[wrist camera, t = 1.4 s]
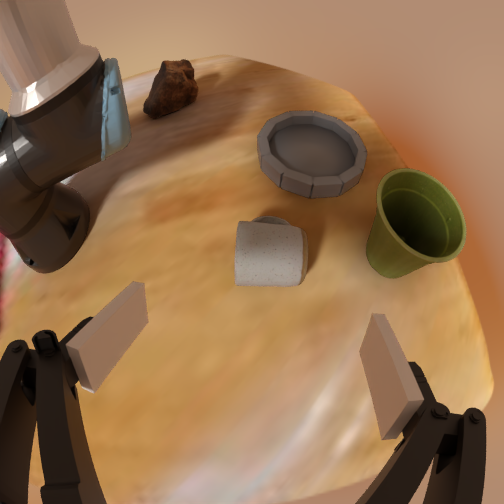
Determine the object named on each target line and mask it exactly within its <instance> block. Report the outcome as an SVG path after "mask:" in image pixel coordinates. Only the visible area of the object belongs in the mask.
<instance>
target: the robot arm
mask: <svg viewBox="0 0 504 504" xmlns="http://www.w3.org/2000/svg"><path fill="white" fill-rule="evenodd" d="M0 71H1V73H2V75H3V77H4V78H5V80H6V82H7V84H8V85H9V87H10V89H11V90H12V96H11V100H10V104H9V109H8V111H9V114H10V117H8V115H7V112H5V111H3V110H2V109H0V232H1V233H2V234H3V235H5V236H6V237H7V238H8V239H10V241H11V243H12V244H13V246H14V248H15V249H16V251H17V252H18V254H19V255H20V257H21V259H22V260H23V261H24V263H25V264H26V265H27V266H29V267H30V268H32V269H33V270H35V271H36V272H39V273H51V272H54V271H56V270H58V269H60V268H61V267H62V266H64V265H65V264H66V263H67V262H68V261H69V260H70V259H71V258H72V257H73V256H74V255H75V253H76V252H77V251H78V249H79V247H80V246H81V244H82V242H83V240H84V238H85V235H86V233H87V229H88V225H89V208H88V205H87V203H86V201H85V200H84V199H83V198H82V196H81V195H80V194H79V193H78V192H77V191H76V190H74V189H72V188H70V187H68V186H66V185H64V184H62V183H61V181H62V180H64V179H66V178H68V177H70V176H72V175H73V174H75V173H77V172H79V171H81V170H83V169H85V168H87V167H89V166H91V165H93V164H95V163H97V162H99V161H104V160H105V159H106V158H107V157H108V156H110V155H112V154H114V153H116V152H118V151H120V150H122V149H124V148H125V147H126V146H127V145H128V143H129V142H130V139H131V128H130V122H129V116H128V111H127V106H126V100H125V95H124V90H123V85H122V80H121V75H120V70H119V66H118V61H117V59H115V58H111V59H109V58H107V59H105V61H104V62H103V60H102V59H101V56H100V53H99V51H98V49H97V48H95V47H92V46H88V45H83V44H81V43H80V42H79V39H78V37H77V34H76V31H75V29H74V26H73V23H72V20H71V18H70V15H69V12H68V9H67V6H66V3H65V0H0ZM147 323H148V315H147V306H146V297H145V286H144V283H140V282H134V281H133V282H132V283H131V284H130V285H129V286H127V287H126V288H125V289H124V290H123V291H122V292H121V293H120V294H119V295H117V296H116V297H115V298H114V299H113V300H112V301H111V302H110V303H109V304H108V305H107V306H105V307H104V308H103V309H102V310H101V311H100V312H99V313H98V314H97V315H96V316H95V317H88V318H86V319H84V320H82V321H81V322H80V323H79V324H78V325H77V327H75V328H74V329H73V330H72V331H71V332H69V333H68V334H67V335H66V336H65V337H64V338H63V339H62V340H61V341H60V342H58V339H57V336H56V333H55V332H53V331H51V330H42V331H39V332H37V333H36V334H35V335H34V336H33V338H32V342H33V344H34V347H35V349H36V350H33V349H29V348H28V345H27V343H26V342H25V341H24V340H15V341H13V342H11V343H10V344H9V345H8V346H7V348H6V350H5V352H4V354H3V356H2V359H1V361H0V504H28V483H29V470H30V460H31V452H32V445H33V438H34V432H35V427H36V421H37V428H38V439H39V448H40V456H41V463H42V469H43V474H44V480H45V485H44V486H42V487H41V490H40V492H41V498H42V502H43V504H107V503H106V500H105V498H104V495H103V492H102V489H101V487H100V484H99V481H98V478H97V475H96V472H95V468H94V465H93V462H92V458H91V454H90V451H89V447H88V443H87V439H86V435H85V430H84V426H83V421H82V416H81V411H80V405H79V399H78V393H77V388H76V386H75V384H76V383H77V381H78V380H79V382H80V384H81V386H82V388H83V389H85V390H88V391H90V392H92V393H95V392H96V391H97V389H98V388H99V386H100V385H101V384H102V382H103V381H104V380H105V378H106V377H107V376H108V374H109V373H110V372H111V370H112V369H113V368H114V366H115V365H116V364H117V362H118V361H119V360H120V358H121V357H122V356H123V354H124V353H125V352H126V350H127V349H128V348H129V346H130V345H131V344H132V343H133V341H134V340H135V339H136V337H137V336H138V335H139V334H140V332H141V331H142V330H143V328H144V327H145V326H146V325H147ZM359 352H360V356H361V359H362V363H363V366H364V370H365V374H366V377H367V381H368V385H369V389H370V393H371V397H372V401H373V405H374V409H375V413H376V417H377V421H378V426H379V430H380V435H381V440H387V439H396V438H397V437H398V436H399V434H400V433H401V432H403V436H404V438H403V439H402V441H401V442H400V443H399V444H398V445H397V447H396V448H395V449H394V450H395V451H394V453H393V454H392V456H391V457H390V459H389V460H388V462H387V463H386V465H385V466H384V468H383V469H382V470H381V472H380V473H379V474H378V476H377V477H376V478H375V480H374V481H373V482H372V484H371V485H370V486H369V488H368V489H367V490H366V491H365V493H364V494H363V495H362V496H361V497H360V499H359V500H358V501H357V502H356V503H355V504H408V503H409V502H410V500H411V498H412V497H413V495H414V493H415V492H416V490H417V488H418V486H419V485H420V483H421V481H422V479H423V478H424V475H425V474H426V472H427V470H428V468H429V466H430V464H431V462H432V460H433V458H434V460H433V465H432V470H431V475H430V479H429V483H428V487H427V491H426V494H425V498H424V501H423V504H481V502H482V496H483V488H484V478H485V464H486V419H485V416H484V414H483V412H481V411H480V410H479V409H477V408H469V409H467V410H466V411H465V413H464V414H463V415H460V414H453V413H450V411H449V409H448V408H447V407H446V406H445V405H443V404H441V403H438V402H436V399H435V397H434V395H433V393H432V390H431V388H430V386H429V384H428V383H427V380H426V377H424V376H425V375H424V373H423V371H422V369H421V368H420V367H419V366H418V365H417V364H416V363H415V362H408V361H407V359H406V357H405V355H404V353H403V351H402V349H401V347H400V344H399V342H398V340H397V338H396V336H395V334H394V332H393V330H392V328H391V326H390V324H389V322H388V320H387V318H386V316H385V315H384V314H374V313H372V316H371V319H370V322H369V325H368V328H367V331H366V334H365V337H364V340H363V343H362V345H361V348H360V351H359Z"/></svg>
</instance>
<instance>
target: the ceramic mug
mask: <svg viewBox="0 0 504 504" xmlns="http://www.w3.org/2000/svg"><path fill="white" fill-rule="evenodd" d="M307 265H308V240H307V235H306V233H305V231H304V230H303V229H302V228H299V227H295V226H291V225H290V223H289V222H287V221H286V220H284V219H282V218H278V217H274V216H262V217H258V218H255V219H254V220H252V221H251V222H248V221H239V223H238V227H237V237H236V250H235V284H236V285H238V286H278V287H290V286H297V285H300V284H301V283H302V282H303V281H304V279H305V276H306V272H307Z"/></svg>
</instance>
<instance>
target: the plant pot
mask: <svg viewBox="0 0 504 504" xmlns="http://www.w3.org/2000/svg"><path fill="white" fill-rule="evenodd" d="M376 199H377V211H376V212H377V214H376V217H375V220H374V223H373V226H372V229H371V232H370V235H369V238H368V242H367V245H366V254H367V258H368V261H369V263H370V265H371V266H372V267H373V268H374V269H375V270H376V271H377V272H378V273H379V274H380V275H382V276H384V277H387V278H399V277H401V276H404V275H406V274H408V273H410V272H412V271H414V270H417V269H419V268H421V267H423V266H425V265H427V264H431V263H441V262H447V261H449V260H452V259H453V258H455V257H456V256H457V255H458V254H459V253H460V252H461V250H462V249H463V246H464V243H465V240H466V223H465V219H464V216H463V212H462V210H461V208H460V206H459V204H458V202H457V200H456V199H455V197H454V196H453V195H452V193H451V192H450V191H449V190H448V189H447V188H446V187H445V186H444V185H443V184H442V183H441V182H439V181H438V180H437V179H435V178H434V177H432V176H430V175H428V174H426V173H424V172H421V171H419V170H414V169H410V168H403V169H396V170H393V171H391V172H389V173H387V174H386V175H385V176H384V177H383V178H382V180H381V181H380V183H379V185H378V189H377V195H376Z"/></svg>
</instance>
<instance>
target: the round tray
mask: <svg viewBox="0 0 504 504" xmlns="http://www.w3.org/2000/svg"><path fill="white" fill-rule="evenodd" d="M257 151H258V156H259V162H260V167H261V169H262V171H263V172H264V173H265V174H266V175H267V176H268V177H269V178H270V179H271V180H272V181H273V182H274V183H275V184H276V185H277V186H278V187H281V189H284V190H287V191H290V192H292V193H295V194H298V195H301V196H304V197H307V198H309V197H311V198H323V197H337V196H338V195H339V196H340V195H342V194H343V193H345V192H346V191H348V190H349V189H350V188H352V187H353V186H355V185H356V184H357V183H358V182H359V180H360V177H361V175H362V173H363V170H364V166H365V162H366V157H367V150H366V148H365V146H364V144H363V142H362V140H361V138H360V136H359V134H357V132H356V131H354V130H353V129H352V128H351V127H349V126H348V125H347V124H345V123H344V122H343V121H341V120H340V119H338V120H337V118H335V117H332V116H329V115H326V114H323V113H320V112H316V111H314V113H313V111H289V112H285V113H283V114H281V115H278V116H276V117H274V118H271V119H269V121H267V122H266V123H265V125H264V126H263V128H262V129H261V131H260V132H259V134H258V135H257Z"/></svg>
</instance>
